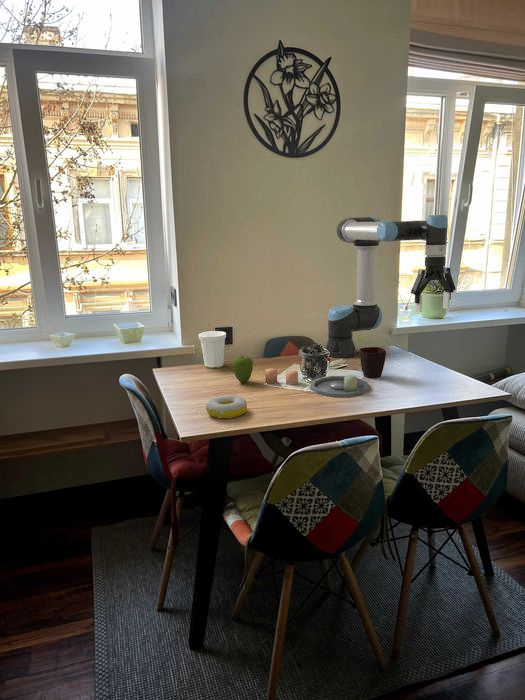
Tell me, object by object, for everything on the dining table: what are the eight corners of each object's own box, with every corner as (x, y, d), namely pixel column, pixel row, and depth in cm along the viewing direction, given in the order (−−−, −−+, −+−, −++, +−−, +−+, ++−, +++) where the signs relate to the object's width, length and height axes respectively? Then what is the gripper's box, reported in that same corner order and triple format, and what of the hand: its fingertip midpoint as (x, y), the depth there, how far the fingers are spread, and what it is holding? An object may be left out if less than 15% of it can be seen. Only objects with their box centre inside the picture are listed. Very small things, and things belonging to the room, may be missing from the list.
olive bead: (341, 390, 191) (341, 376, 189) (352, 389, 192) (352, 375, 191) (348, 394, 186) (348, 380, 185) (359, 392, 188) (359, 378, 187)
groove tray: (301, 385, 201) (300, 380, 200) (348, 378, 209) (348, 373, 208) (328, 403, 181) (328, 397, 181) (379, 394, 189) (379, 388, 188)
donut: (205, 421, 168) (204, 407, 166) (207, 407, 181) (206, 394, 180) (247, 419, 168) (246, 405, 167) (246, 405, 182) (246, 392, 180)
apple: (244, 377, 214) (243, 351, 211) (258, 381, 208) (257, 354, 205) (228, 382, 208) (227, 355, 205) (242, 386, 202) (241, 359, 199)
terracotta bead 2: (284, 384, 203) (283, 371, 202) (294, 383, 205) (294, 370, 203) (289, 388, 199) (288, 374, 197) (300, 386, 200) (300, 373, 199)
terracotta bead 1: (263, 382, 207) (263, 369, 206) (274, 380, 209) (274, 367, 208) (268, 385, 203) (267, 372, 202) (279, 383, 205) (278, 370, 203)
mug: (365, 382, 203) (366, 353, 200) (352, 373, 216) (353, 345, 213) (388, 380, 204) (389, 351, 202) (374, 371, 218) (375, 344, 215)
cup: (196, 369, 228) (194, 336, 225) (206, 361, 240) (205, 330, 236) (221, 370, 225) (220, 337, 221) (231, 363, 236) (229, 331, 233)
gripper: (415, 258, 188) (412, 314, 193) (467, 254, 197) (463, 308, 202) (402, 257, 194) (400, 311, 200) (453, 254, 204) (450, 306, 209)
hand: (432, 310), depth 201 cm, fingers open, 13 cm apart
